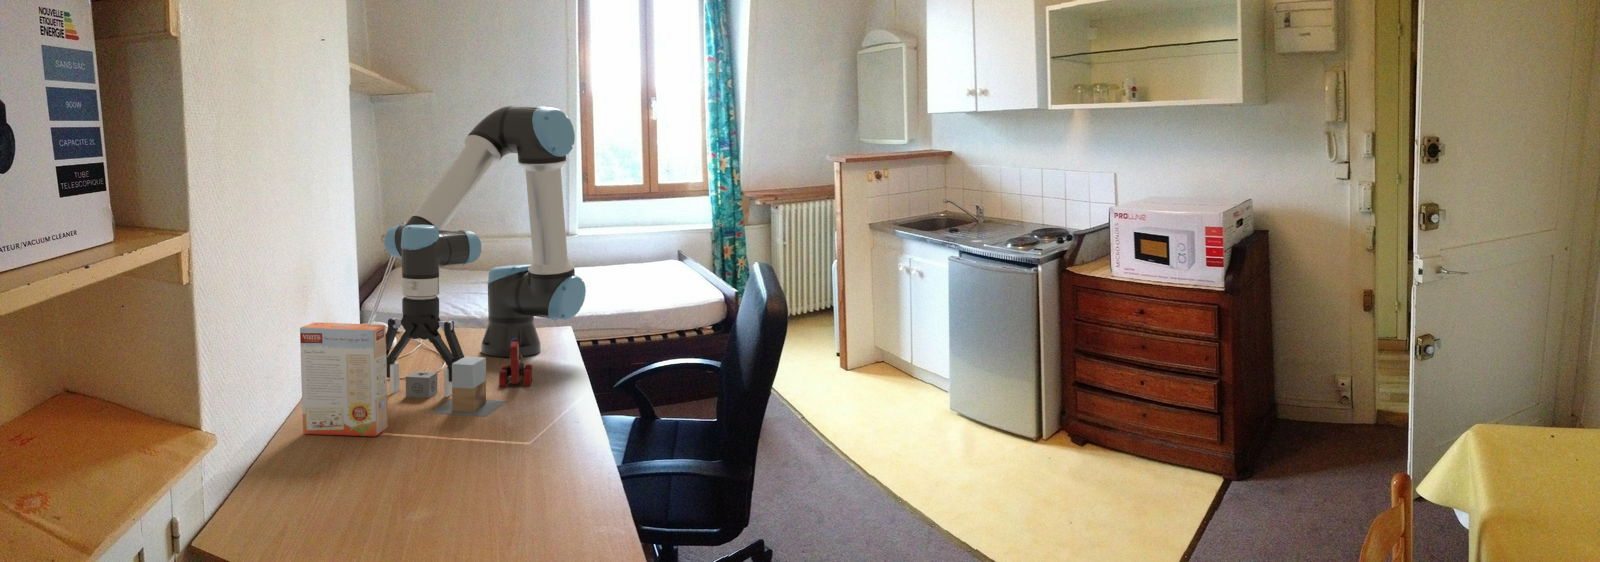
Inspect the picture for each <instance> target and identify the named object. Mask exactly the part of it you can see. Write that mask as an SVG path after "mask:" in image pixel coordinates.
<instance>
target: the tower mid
mask: <svg viewBox="0 0 1600 562" xmlns="http://www.w3.org/2000/svg"><path fill="white" fill-rule="evenodd" d="M486 359H487V357H481V356H464V358H462V359H460V360H458V361H456V362H454V363H453V364H452V387H454V388H470V389H473V388H475V387H476V386H478V385H480V384H481V383H483V382H484V381H486V382H487V360H486Z"/></svg>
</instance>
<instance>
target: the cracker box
mask: <svg viewBox="0 0 1600 562" xmlns="http://www.w3.org/2000/svg"><path fill="white" fill-rule="evenodd" d="M386 327H387V326H386V325H385V324H372V323H371V324H367V323H345V322H311V323H309V324H306V325H303V326H300V327H299V334H300V335H299V340H300V343H299V345H300V373H301V376H300V377H301V379H300V380H301V405H302V406H301V407H302V408H301V410H302V433H303V434H304V435H322V436H323V435H326V436H349V437H350V436H353V437H354V436H355V437H372V438H373V437H377V436H378V435H380V434H382V432H384V431H385V430H387V429H388V428H389V425H388V423H389V422H388V420H389V419H388V418H389V417H388V416H389V415H388V378H387V365H386V333H387V329H386Z"/></svg>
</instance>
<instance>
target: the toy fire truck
mask: <svg viewBox="0 0 1600 562" xmlns="http://www.w3.org/2000/svg"><path fill="white" fill-rule="evenodd" d="M510 344H511V347H510V356H509V357H508V359H509V363H508V365H507V364H502V365H501V369H500V370H499V375H498V380H499V381H498V383H499V388H505V387H507V385H508V382H511V384H512V385H515V384H519V383H520V382H522V383H523V385H522V386H523V387H524V388H525V387H531V384H532V383H531V382H532V381H533V366H532V364H524V363H523V362H522V361H523V356H522V355H521V353H520V352H519V340H518V339H516V338H514V339H512V340H511V342H510Z"/></svg>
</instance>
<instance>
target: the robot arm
mask: <svg viewBox="0 0 1600 562" xmlns="http://www.w3.org/2000/svg"><path fill="white" fill-rule="evenodd" d="M575 138H576V136H575V129H574V126H573V123H572V121H571V119H570V117H569V116H568V115H566V113H565V112H564V111H563V110H561V109H559V108H555V107H548V106H517V105H507V106H502V107H501V108H498V109H496V110H494V111H492V112H491V113H489V114H488V115H487V116H485V117H484V118H483V119H482V120H480V122H478V123H477V124H476V125H475V126H474V127H473V129H471V130H470V131H469V133H468V135H467V136H466V137H465V138H464V147H463V148H462V150H460V152H459V153H458V155H457V156H456V157H455V159H454V160H453V161H452V162H451V164H450V165H449V167H448V168H447V169H446V171H444V173H443V174H442V175H441V177H440V178H439V179H438V181H437V182H436V184H434V186H433V188H432V189H431V190H430V191H429V193H428V194H427V195H426V197H425V198H424V199H423V200H422V202H421V203H420V204H419V206H418V207H417V208H416V209H415V211H414V212H413V213H412V215H411V216H410V218H409V219H408V220H407V221H406V223H405V224H404V225H402V224H401V225H394V226H392V227H390V228H389V229H388V230H387V231H386V233H385V237H384V240H383V241H384V242H383V243H384V247H385V248H384V249H385V250H386V251H387V253H388V254H389V255H390V256H392V257H394V258H398V259H401V282H402V283H401V293H402V296H404V297H403V298H402V299H401V305H402V306H401V307H402V309H401V310H402V318H399V317H397V316H394V317H391V318H389V319H388V320H387V329H386V365H387V379H388V378H389V379H390V381H389V383H390V384H389V388H390V389H389V391H390V395H393V394H395V393H397V392H399V391H400V385H401V384H400V362H399V361H397V360H398V358H399V356H400V354H401V353H402V352H403V351H404V350H405V347H407V345H408V344H409V342H410V341H411V340H417V339H420V340H423V341H424V340H426V341H427V340H428V341H429V342H430V343H431V344H432V345H433V347H434V348H435V349H436V352H437V353H438V354H439V356H440V357H441V358H442V360H443V362H444V363H445V365H446V367H445V366H444V368H443V369H444V370H443V381H444V382H443V384H444V386H443V387H444V392H443V393H444V394H443V395H444V398H449V397H450V396H452V364H453V363H454V362H456V361H458V360H460V359H462V358H464V357H465V355H464V353H463V350H462V347H461V344H460V342H459V339H458V337H457V333H456V332H455V321H454V320H452V319H450V320H448V321H446V320H441V319H440V298H439V297H438V296H439V294H440V268H442V267H449V266H458V265H463V266H464V265H466V264H470V263H474V262H476V261H477V260H478V259H479V258H480V256H481V254H482V243H481V239H480V237H479V236H478V234H476V233H475V232H473V231H471V230H461V229H460V230H457V231H454V230H445V228H446V226H448V224H449V223H450V222H451V220H452V219H453V218H454V216H455V215H456V214H457V212H458V211H459V209H460V208H461V206H462V205H463V204H464V203H465V201H467V198H468V197H469V196H470V195H471V193H472V191H473V190H475V188H476V186H477V185H478V184H479V182H480V181H481V180H482V179H483V177H484V176H485V174H486V173H487V171H489V169H490V167H492V165H497V164H498V163H499V162H500V161H501V160H502V158H504V157H505V156H506V155H509V154H517V162H518V164H519V166H521V167H522V168H523V169H524V171H525V183H526V192H527V204H528V215H529V216H528V217H529V229H530V240H531V241H530V242H531V249H532V251H531V252H532V263H530V264H528V263H527V264H513V265H503V266H502V265H501V266H497V267H492V268H491V269H490V270H489V271H488V277H487V278H488V281H487V309H488V310H487V314H488V315H487V316H488V319H487V320H488V321H487V327H486V330H485V332H484V335H483V338H482V341H481V345H480V346H481V347H480V348H481V353H482V354H483V355H486V356H490V357H498V358H500V357H501V358H509V356H510V347H511V344H510V342H511V340H512V339H514V338H516V339H518V340H519V352H520V353H521V355H522V357H528V356H533V355H536V354H538V353H540V352H541V344H542V343H541V341H540V337H539V334H538V331H537V328H536V325H535V317H539V318H542V319H543V318H544V319H549V320H553V321H557V320H560V321H561V320H562V321H567V320H570V319H572V318H574V317H575V316H576V315H578V314H579V312H580V310H581V308H582V307H583V306H584V305H583V304H584V303H585V298H586V293H587V292H586V283H585V281H584V280H583V279H582V278H581V277H580V276H578V275H576V274H575V265H574V263H572V262H570V261H569V259H568V258H569V257H568V249H567V247H568V245H567V233H566V223H565V222H566V220H565V219H566V217H565V206H564V195H563V194H564V193H563V183H562V166H563V165H564V164H565V163H567V155H568V154H570V153H571V151H572V150H573V145H575ZM401 326H402V328H403V329H404V330H405V331H404V332H403V334H401V336H400V339H399V340H398V342H397V343H396V344H395V345H394V347H393V349H392V346H393V344H394V341H395V340H396V339H395V338H396V336H397V334H398V330H399V328H400V327H401ZM440 328H441V330H442V332H443V333H444V336H445V339H446V342H447V344H448V346H449V347H448V346H447V345H446V343H445V341H444V340H443V339H442V335H441V333H440V331H439V329H440ZM391 349H392V350H391Z"/></svg>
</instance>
